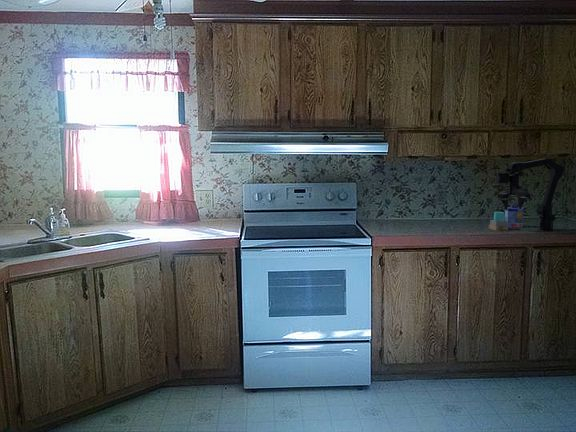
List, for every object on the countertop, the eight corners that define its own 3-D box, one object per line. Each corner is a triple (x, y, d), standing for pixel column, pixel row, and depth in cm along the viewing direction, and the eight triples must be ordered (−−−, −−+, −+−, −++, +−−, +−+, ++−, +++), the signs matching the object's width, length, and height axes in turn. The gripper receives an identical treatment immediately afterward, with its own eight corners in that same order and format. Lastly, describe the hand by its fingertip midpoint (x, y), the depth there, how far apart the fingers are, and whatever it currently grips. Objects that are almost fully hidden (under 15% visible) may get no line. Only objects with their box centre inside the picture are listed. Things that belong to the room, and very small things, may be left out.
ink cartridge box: (507, 227, 310) (508, 204, 308) (503, 225, 315) (504, 203, 313) (523, 227, 309) (524, 204, 307) (519, 225, 314) (521, 203, 312)
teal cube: (493, 219, 306) (494, 211, 305) (502, 220, 305) (502, 211, 304) (495, 221, 301) (495, 212, 300) (504, 221, 300) (504, 213, 299)
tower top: (500, 224, 307) (500, 219, 307) (506, 226, 300) (507, 221, 300) (490, 224, 307) (490, 219, 306) (496, 226, 300) (496, 221, 299)
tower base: (500, 228, 308) (500, 224, 308) (508, 230, 301) (508, 226, 300) (488, 229, 307) (488, 224, 307) (495, 231, 299) (496, 226, 299)
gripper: (509, 185, 285) (508, 212, 287) (537, 183, 289) (536, 210, 291) (497, 184, 296) (496, 209, 298) (524, 182, 300) (523, 208, 302)
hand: (513, 209), depth 297 cm, fingers open, 9 cm apart
